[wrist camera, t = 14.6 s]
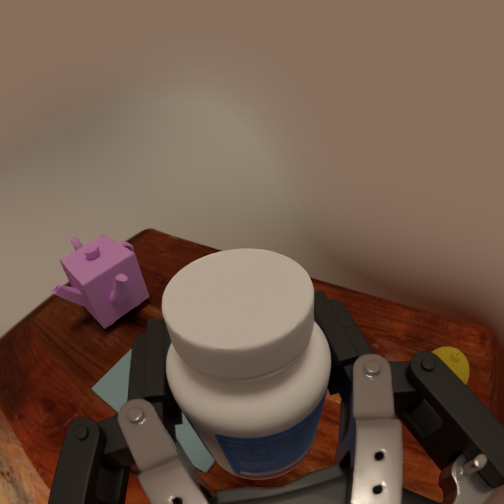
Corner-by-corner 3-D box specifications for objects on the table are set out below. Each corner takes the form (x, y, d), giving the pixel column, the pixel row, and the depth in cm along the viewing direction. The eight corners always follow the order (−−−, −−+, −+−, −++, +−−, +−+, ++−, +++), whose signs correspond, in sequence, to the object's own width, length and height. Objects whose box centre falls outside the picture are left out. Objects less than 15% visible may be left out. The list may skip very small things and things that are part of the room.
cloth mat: (308, 315, 35) (308, 313, 35) (206, 473, 20) (205, 472, 19) (202, 281, 42) (202, 279, 42) (92, 390, 27) (91, 388, 26)
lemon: (433, 433, 20) (474, 391, 15) (390, 409, 23) (419, 363, 19) (452, 392, 23) (487, 345, 18) (413, 372, 26) (439, 321, 22)
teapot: (56, 304, 39) (31, 253, 34) (117, 264, 47) (100, 214, 42) (104, 368, 29) (67, 308, 24) (182, 308, 38) (164, 245, 32)
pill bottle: (330, 413, 13) (370, 260, 8) (281, 498, 10) (291, 425, 4) (241, 377, 16) (217, 223, 11) (184, 447, 12) (97, 314, 7)
